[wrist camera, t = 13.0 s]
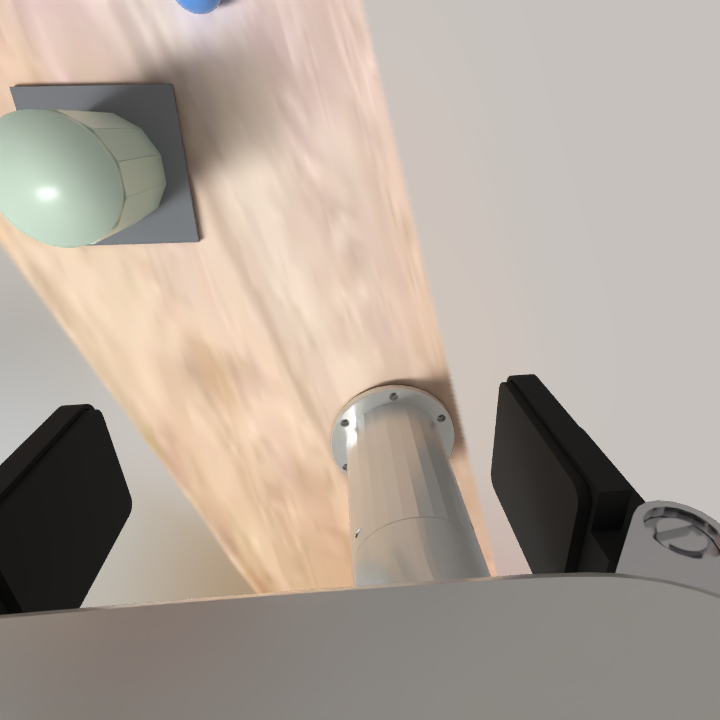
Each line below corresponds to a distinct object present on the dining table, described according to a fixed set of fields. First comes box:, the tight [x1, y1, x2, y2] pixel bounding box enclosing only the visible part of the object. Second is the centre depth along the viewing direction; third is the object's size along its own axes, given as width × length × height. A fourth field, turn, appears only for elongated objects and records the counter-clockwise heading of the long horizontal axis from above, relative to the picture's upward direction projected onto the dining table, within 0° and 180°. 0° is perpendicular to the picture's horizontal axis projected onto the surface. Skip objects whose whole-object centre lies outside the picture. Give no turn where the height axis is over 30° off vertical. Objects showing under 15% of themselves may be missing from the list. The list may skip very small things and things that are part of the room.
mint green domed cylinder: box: [0, 109, 166, 248], centre depth 31 cm, size 8×8×8 cm
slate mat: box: [10, 84, 200, 246], centre depth 35 cm, size 11×11×1 cm
